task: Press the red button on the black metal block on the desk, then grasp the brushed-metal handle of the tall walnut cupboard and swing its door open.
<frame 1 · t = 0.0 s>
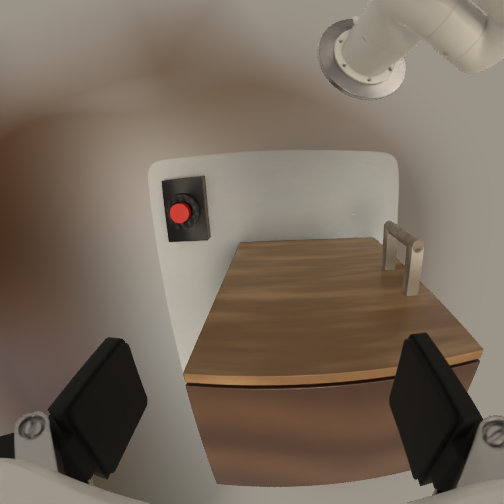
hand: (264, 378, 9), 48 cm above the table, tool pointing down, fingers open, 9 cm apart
button: (180, 212, 53), point 4 cm above the table, slide at 0.1 cm
cupboard: (308, 288, 60), on the table
button block: (187, 208, 57), on the table
cupboard door: (322, 257, 38), point 19 cm above the table, hinge at 0.0°
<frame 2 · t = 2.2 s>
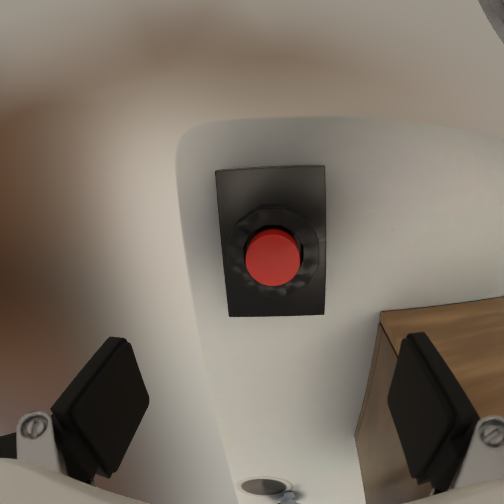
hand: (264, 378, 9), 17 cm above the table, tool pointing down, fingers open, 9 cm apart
button: (273, 257, 21), point 4 cm above the table, slide at 0.1 cm
toy figure: (288, 494, 39), on the table
cupboard: (461, 372, 28), on the table
button block: (274, 239, 25), on the table
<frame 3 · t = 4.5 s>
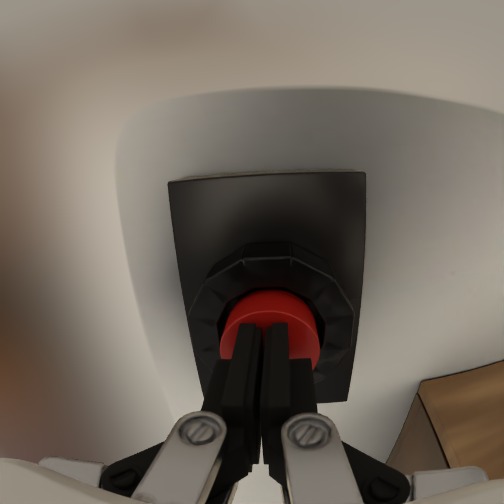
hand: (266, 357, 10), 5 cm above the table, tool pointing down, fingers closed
button: (270, 340, 11), point 4 cm above the table, slide at -0.1 cm, touching gripper
cupboard: (496, 426, 18), on the table
button block: (273, 292, 15), on the table
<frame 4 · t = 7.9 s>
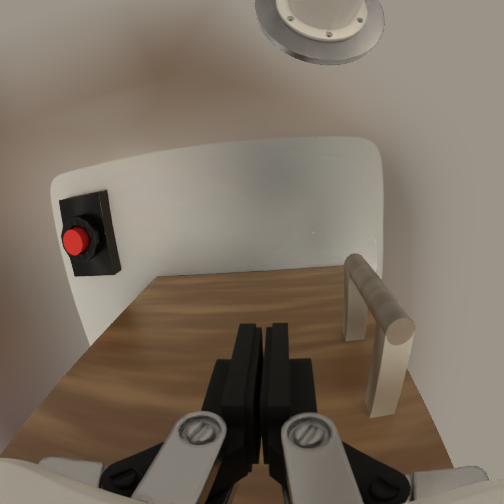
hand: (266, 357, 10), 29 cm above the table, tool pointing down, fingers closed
button: (75, 241, 36), point 4 cm above the table, slide at 0.1 cm
button block: (92, 233, 40), on the table
cupboard door: (219, 327, 21), point 19 cm above the table, hinge at 0.0°
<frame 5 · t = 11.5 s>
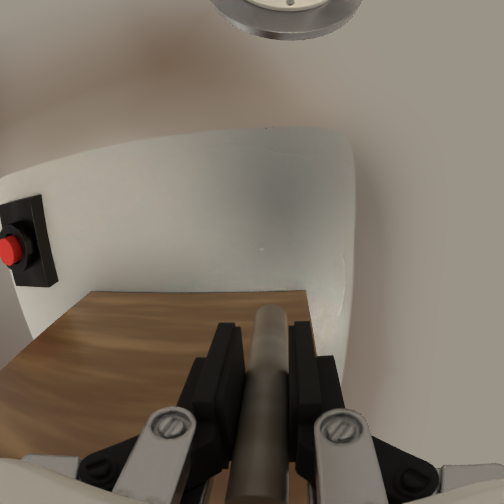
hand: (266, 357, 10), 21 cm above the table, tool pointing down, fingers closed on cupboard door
button: (9, 250, 29), point 4 cm above the table, slide at 0.1 cm
button block: (30, 240, 33), on the table
cupboard door: (88, 385, 14), point 19 cm above the table, hinge at 0.0°, touching gripper
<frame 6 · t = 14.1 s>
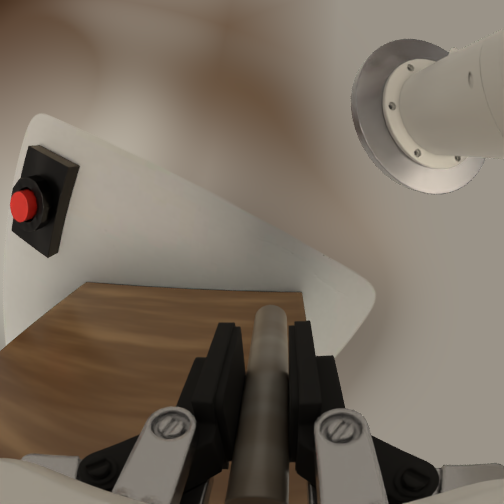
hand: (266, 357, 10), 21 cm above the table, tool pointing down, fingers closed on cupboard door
button: (23, 205, 27), point 4 cm above the table, slide at 0.1 cm
button block: (46, 199, 31), on the table
cupboard door: (82, 377, 14), point 19 cm above the table, hinge at 27.5°, touching gripper
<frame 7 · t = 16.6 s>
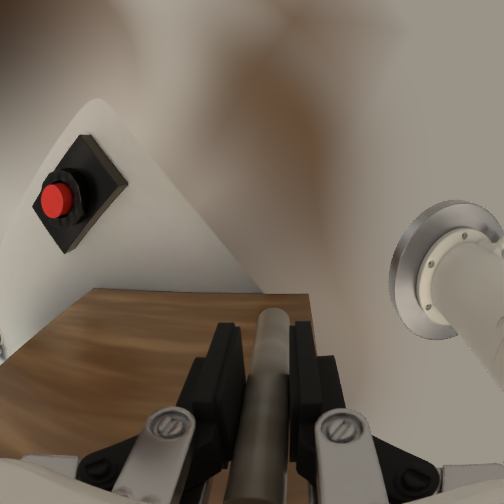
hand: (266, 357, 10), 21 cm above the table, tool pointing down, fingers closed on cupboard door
button: (56, 200, 27), point 4 cm above the table, slide at 0.1 cm
button block: (79, 194, 31), on the table
cupboard door: (89, 382, 14), point 19 cm above the table, hinge at 52.7°, touching gripper
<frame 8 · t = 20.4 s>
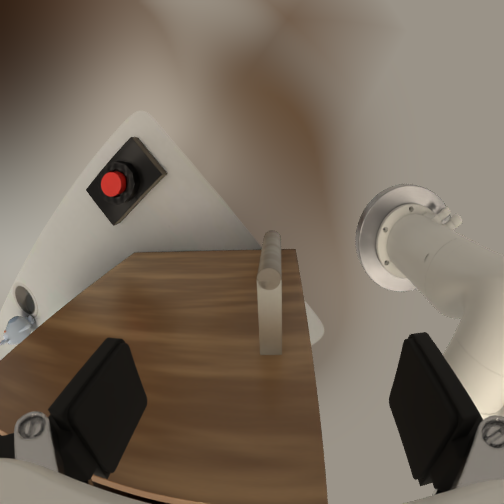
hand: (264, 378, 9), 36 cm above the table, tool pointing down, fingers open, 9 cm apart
button: (113, 183, 40), point 4 cm above the table, slide at 0.1 cm
toy figure: (30, 319, 56), on the table
cupboard: (152, 337, 53), on the table
button block: (127, 180, 44), on the table
cupboard door: (163, 281, 27), point 19 cm above the table, hinge at 53.0°
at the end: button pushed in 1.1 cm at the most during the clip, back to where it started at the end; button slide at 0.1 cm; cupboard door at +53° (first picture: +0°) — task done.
